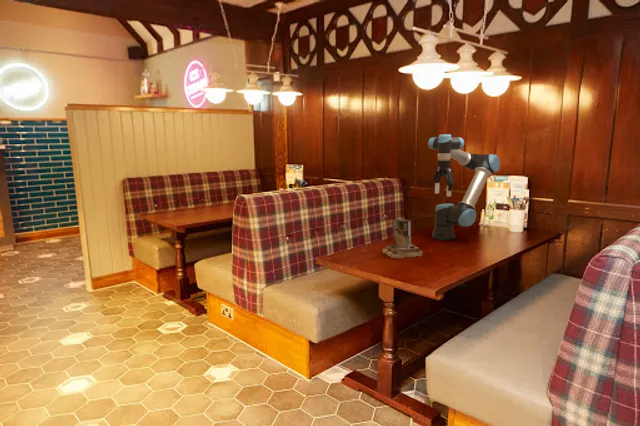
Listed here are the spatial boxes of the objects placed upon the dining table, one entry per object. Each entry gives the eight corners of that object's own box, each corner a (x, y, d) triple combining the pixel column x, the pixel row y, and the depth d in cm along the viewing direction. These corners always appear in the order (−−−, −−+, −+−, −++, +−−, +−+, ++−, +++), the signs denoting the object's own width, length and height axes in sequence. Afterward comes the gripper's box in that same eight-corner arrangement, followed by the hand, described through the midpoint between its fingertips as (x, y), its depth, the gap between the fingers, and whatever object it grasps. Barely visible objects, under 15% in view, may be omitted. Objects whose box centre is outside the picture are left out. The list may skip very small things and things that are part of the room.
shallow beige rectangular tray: (382, 252, 260) (382, 245, 260) (411, 249, 265) (411, 242, 265) (392, 258, 247) (392, 251, 246) (422, 256, 252) (422, 248, 251)
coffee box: (411, 246, 256) (411, 219, 253) (408, 249, 251) (408, 221, 248) (396, 244, 260) (396, 218, 257) (392, 247, 255) (393, 220, 252)
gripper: (428, 159, 274) (427, 192, 278) (449, 161, 250) (448, 197, 254) (438, 158, 276) (437, 191, 280) (461, 161, 252) (459, 197, 256)
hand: (442, 194), depth 267 cm, fingers open, 13 cm apart
